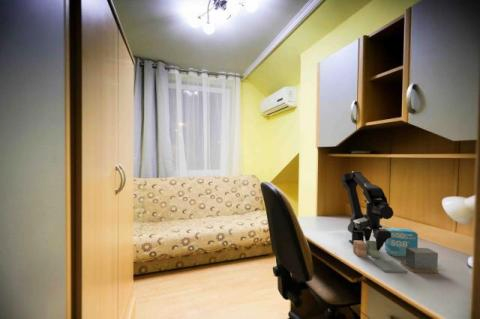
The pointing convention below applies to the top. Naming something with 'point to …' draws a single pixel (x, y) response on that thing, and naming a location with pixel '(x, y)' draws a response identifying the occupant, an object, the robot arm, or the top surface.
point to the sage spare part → (372, 249)
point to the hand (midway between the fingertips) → (372, 246)
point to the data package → (401, 241)
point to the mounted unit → (421, 260)
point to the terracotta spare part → (359, 248)
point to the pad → (389, 266)
